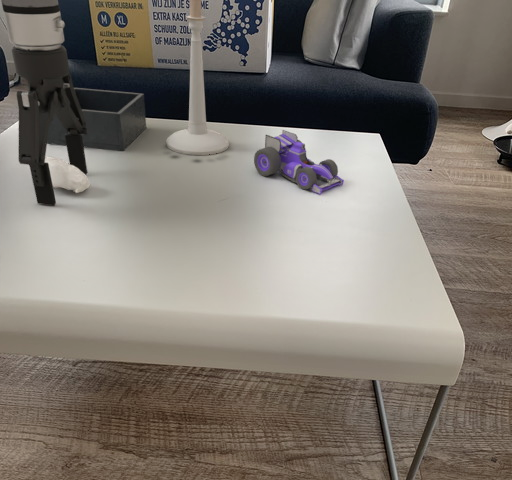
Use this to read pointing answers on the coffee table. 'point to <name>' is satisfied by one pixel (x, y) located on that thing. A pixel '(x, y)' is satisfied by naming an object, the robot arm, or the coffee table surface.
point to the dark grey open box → (105, 119)
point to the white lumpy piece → (66, 175)
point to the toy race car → (295, 163)
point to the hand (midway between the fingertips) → (64, 187)
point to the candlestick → (197, 101)
